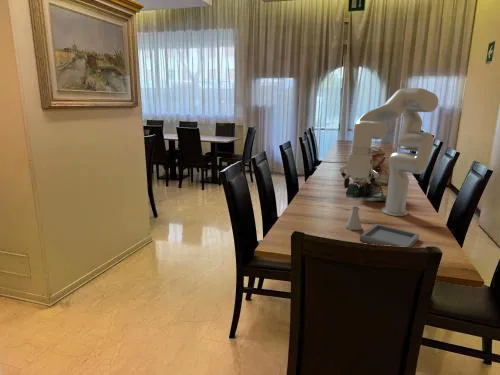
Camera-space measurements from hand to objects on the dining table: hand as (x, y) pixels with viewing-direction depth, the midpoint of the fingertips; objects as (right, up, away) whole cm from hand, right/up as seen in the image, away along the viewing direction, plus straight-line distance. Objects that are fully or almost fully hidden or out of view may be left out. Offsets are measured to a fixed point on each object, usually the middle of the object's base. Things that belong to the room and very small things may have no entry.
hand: (356, 189), depth 148 cm
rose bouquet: (+25, -5, +55) cm, 61 cm away
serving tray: (+11, -21, -8) cm, 25 cm away
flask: (0, -18, +5) cm, 18 cm away
